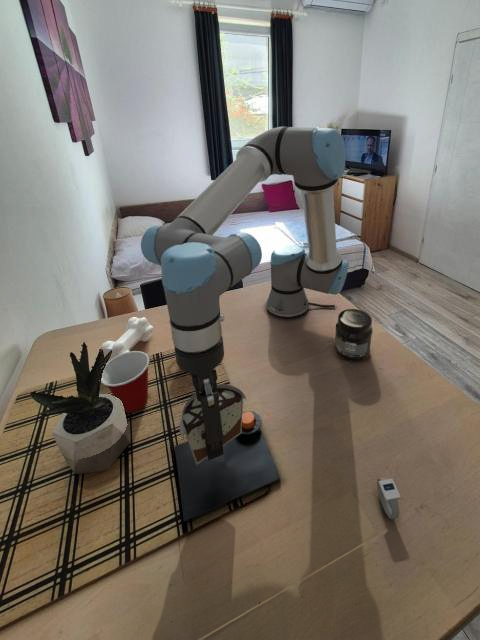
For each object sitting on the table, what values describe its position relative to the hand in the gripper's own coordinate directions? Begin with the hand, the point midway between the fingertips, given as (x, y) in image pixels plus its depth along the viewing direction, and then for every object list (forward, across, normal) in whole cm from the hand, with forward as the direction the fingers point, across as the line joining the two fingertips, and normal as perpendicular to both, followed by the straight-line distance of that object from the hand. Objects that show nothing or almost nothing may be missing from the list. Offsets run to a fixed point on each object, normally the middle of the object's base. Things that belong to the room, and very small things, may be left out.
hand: (211, 439), depth 61 cm
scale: (+9, 0, -2) cm, 10 cm away
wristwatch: (+10, -18, -27) cm, 34 cm away
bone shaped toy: (+10, +46, +16) cm, 49 cm away
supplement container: (+9, +20, -45) cm, 50 cm away
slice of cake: (+1, +1, 0) cm, 1 cm away
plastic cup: (+10, +24, +15) cm, 30 cm away
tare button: (+7, +6, -8) cm, 12 cm away
